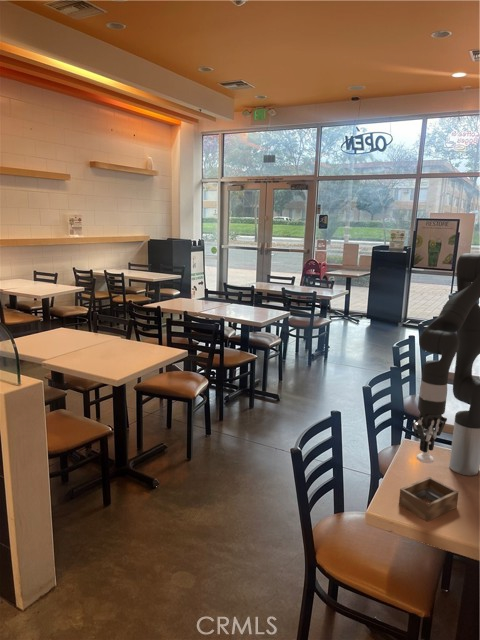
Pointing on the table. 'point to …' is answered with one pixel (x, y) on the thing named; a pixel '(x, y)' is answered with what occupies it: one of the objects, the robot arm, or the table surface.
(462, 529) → the table surface
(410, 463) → the table surface
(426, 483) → the walnut box
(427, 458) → the chess piece
